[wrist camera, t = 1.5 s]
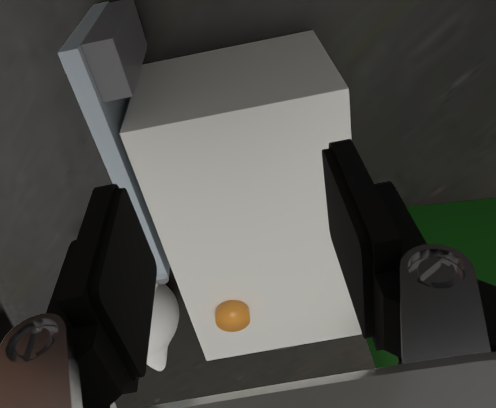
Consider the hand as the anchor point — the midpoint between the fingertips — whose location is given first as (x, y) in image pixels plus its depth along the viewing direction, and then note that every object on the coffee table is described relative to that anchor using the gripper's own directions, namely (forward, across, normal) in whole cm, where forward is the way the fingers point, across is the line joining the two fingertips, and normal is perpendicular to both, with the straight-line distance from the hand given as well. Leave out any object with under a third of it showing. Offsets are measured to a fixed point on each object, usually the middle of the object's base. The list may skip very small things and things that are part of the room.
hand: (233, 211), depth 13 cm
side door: (+22, +6, +6) cm, 24 cm away
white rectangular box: (+22, 0, +13) cm, 26 cm away
